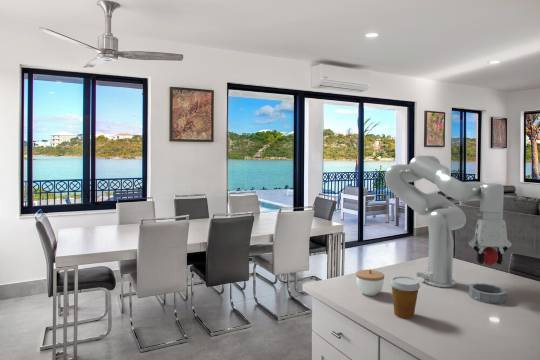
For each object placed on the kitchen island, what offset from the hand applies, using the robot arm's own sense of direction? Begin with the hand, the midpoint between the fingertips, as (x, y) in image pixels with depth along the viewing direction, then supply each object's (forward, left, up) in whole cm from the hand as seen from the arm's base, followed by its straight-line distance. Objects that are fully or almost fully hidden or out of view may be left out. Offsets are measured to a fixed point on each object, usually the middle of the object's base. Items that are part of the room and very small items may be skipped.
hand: (489, 262), depth 150 cm
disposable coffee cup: (-36, -19, -14) cm, 43 cm away
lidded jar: (-44, +1, -14) cm, 46 cm away
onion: (0, 0, -1) cm, 1 cm away
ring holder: (0, 0, -14) cm, 14 cm away
